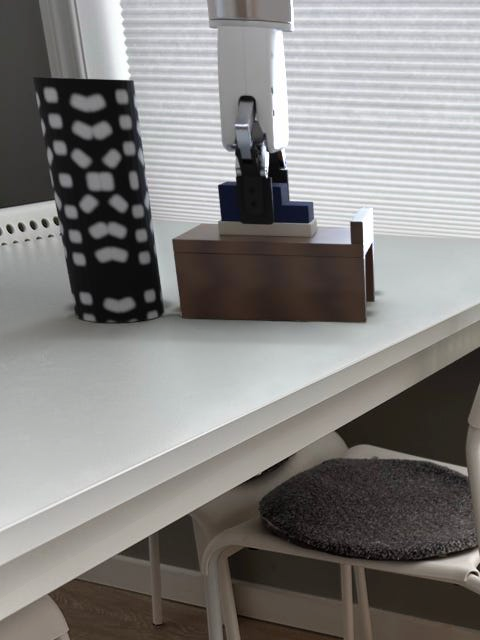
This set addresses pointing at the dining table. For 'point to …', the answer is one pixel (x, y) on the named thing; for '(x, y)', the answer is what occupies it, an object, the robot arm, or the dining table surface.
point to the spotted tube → (101, 197)
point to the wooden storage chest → (277, 274)
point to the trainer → (287, 215)
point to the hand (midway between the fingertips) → (266, 217)
